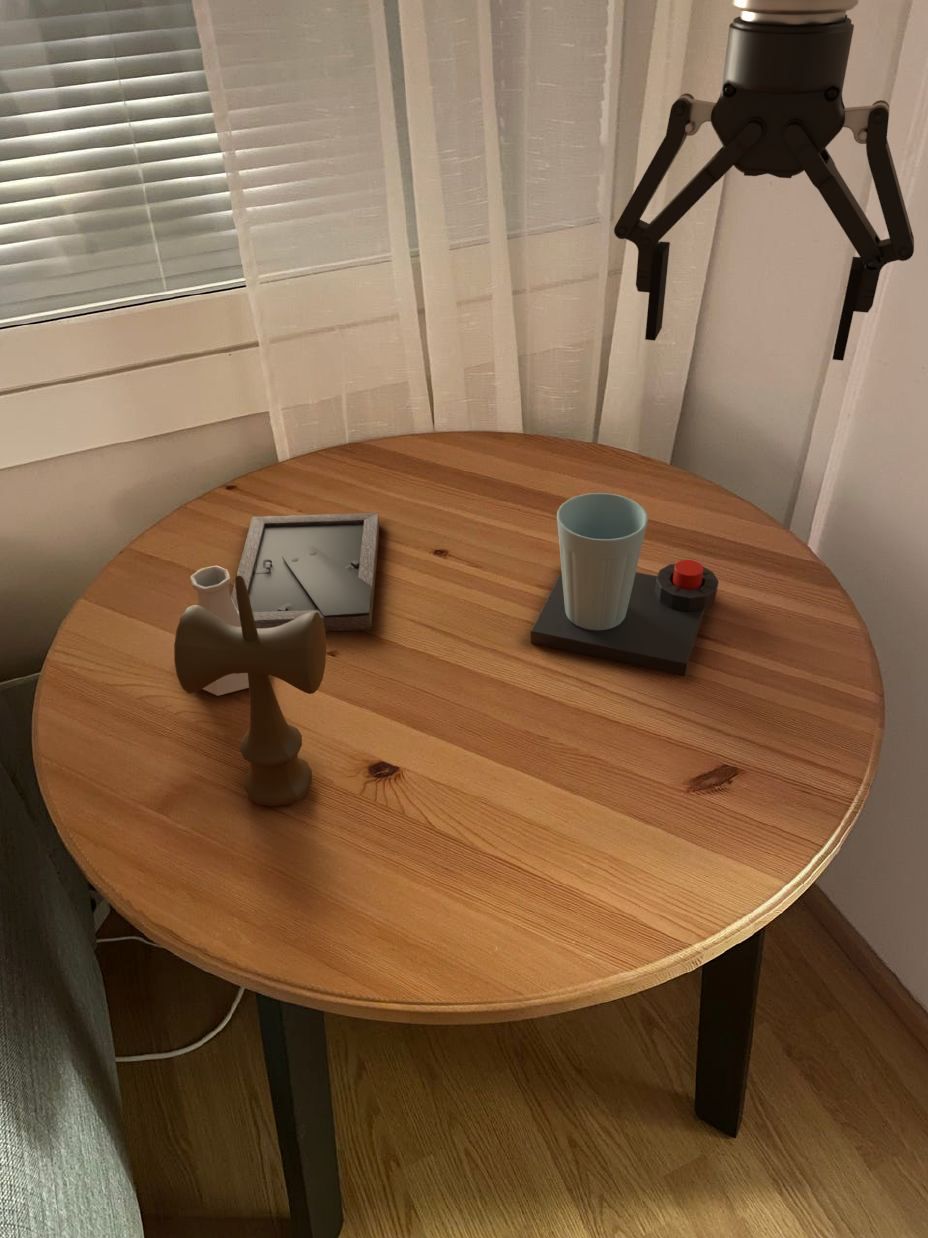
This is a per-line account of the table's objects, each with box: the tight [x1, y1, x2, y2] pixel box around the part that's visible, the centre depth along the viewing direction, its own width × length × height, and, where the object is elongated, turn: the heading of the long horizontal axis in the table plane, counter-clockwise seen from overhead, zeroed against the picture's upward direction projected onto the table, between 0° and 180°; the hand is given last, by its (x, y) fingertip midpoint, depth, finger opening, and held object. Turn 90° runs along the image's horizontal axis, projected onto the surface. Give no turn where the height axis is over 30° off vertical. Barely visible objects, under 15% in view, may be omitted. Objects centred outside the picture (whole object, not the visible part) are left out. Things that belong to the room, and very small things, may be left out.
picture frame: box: [230, 512, 380, 632], centre depth 99 cm, size 13×2×18 cm
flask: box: [190, 565, 249, 697], centre depth 86 cm, size 7×7×10 cm
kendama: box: [173, 574, 327, 807], centre depth 71 cm, size 6×10×20 cm, turn 86°
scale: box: [530, 563, 719, 676], centre depth 92 cm, size 15×13×3 cm
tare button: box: [673, 559, 704, 590], centre depth 92 cm, size 3×3×2 cm
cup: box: [556, 492, 649, 630], centre depth 89 cm, size 8×8×10 cm
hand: (743, 343), depth 75 cm, fingers open, 13 cm apart
